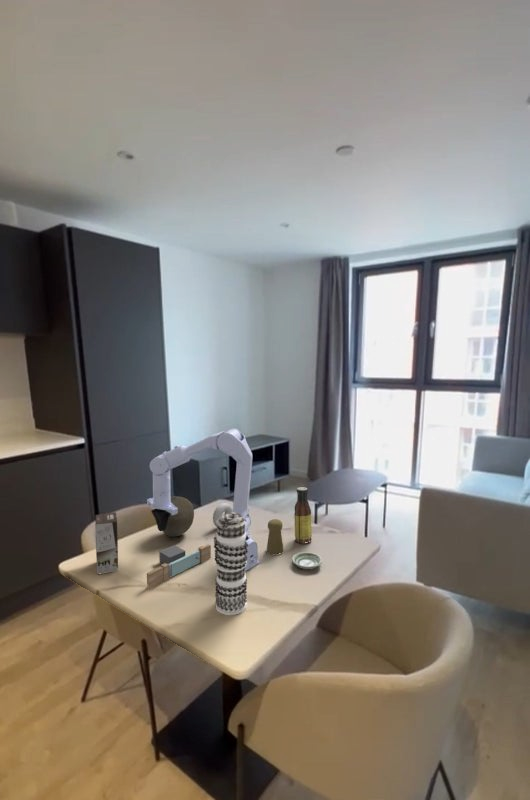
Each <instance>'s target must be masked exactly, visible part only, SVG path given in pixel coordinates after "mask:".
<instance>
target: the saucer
mask: <svg viewBox="0 0 530 800" xmlns="http://www.w3.org/2000/svg"><path fill="white" fill-rule="evenodd" d="M291 561H292V562H293V564H294V565H295V566H297V567H298V568H300V569H302V568H303V570H312V569H316V568H317V567H319V566H320V565H321V564H322V561H323V559H322V557H321V556H320V555H319V554H317V553H314V552H310V551H309V552H308V551H301V552H298V553H295V554H293V556H292V558H291Z"/></svg>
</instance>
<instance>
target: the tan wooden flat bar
mask: <svg viewBox="0 0 530 800" xmlns="http://www.w3.org/2000/svg"><path fill="white" fill-rule="evenodd" d="M197 547H198V546H197ZM211 548H212V545H211V544H210V543H208V544H205V545H204V546H203V545H200V546H199V547H198V548H197V549H198V550H199V551H200V563H201V564H203V563H205V562H206V561H207V560H209V559H211V558H212V553H211V552H212V551H211ZM169 579H170V578H169V568H168V564H166V563H164V564H161V565H160V566H159V567H157V568H155V569H152V570H150V571H148V572H146V589H148V590H151V589H153V588H156V587H157V586H158V585H159V586H160V585H161V584H162V583H165V582H167V581H168V582H169Z"/></svg>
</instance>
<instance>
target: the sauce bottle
mask: <svg viewBox="0 0 530 800" xmlns="http://www.w3.org/2000/svg"><path fill="white" fill-rule="evenodd" d="M308 492H309V489H308V488H307V487H306V486H301V487H300V486H299V487H297V488H296V494H297V496H296V497H297V499H296V503H295V504H294V516H293V517H294V538H295V542H297V541H298V542H297V543H299V542H301V543H300V544H302V543H305V542H309V541H311V542H312V535H313V534H312V533H313V531H312V528H313V527H312V509H311V507H310V503H309V501H308V500H309V499H308ZM309 543H310V542H309Z"/></svg>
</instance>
